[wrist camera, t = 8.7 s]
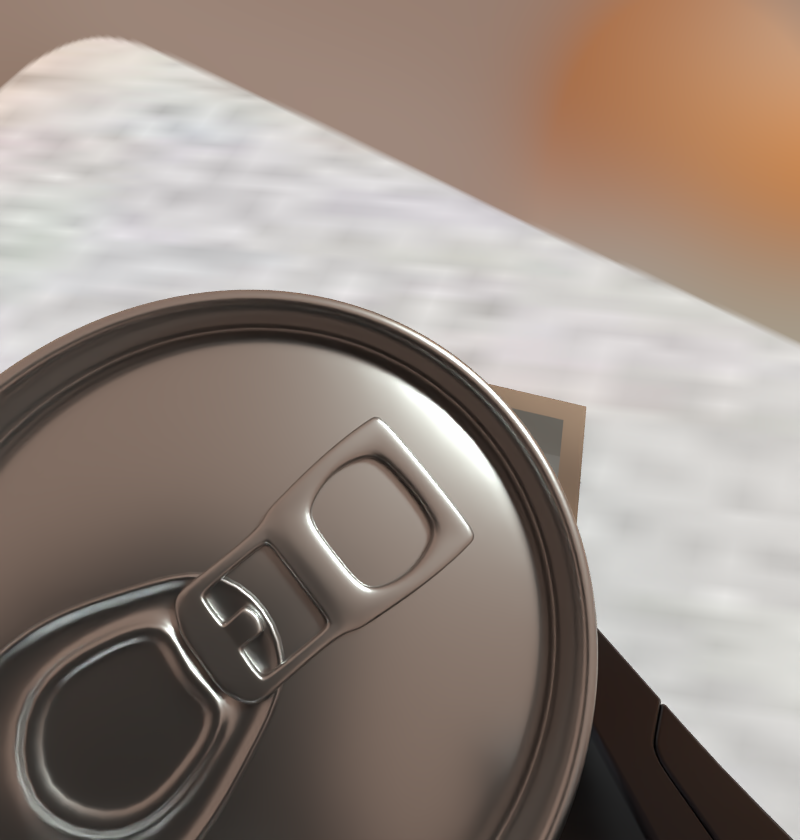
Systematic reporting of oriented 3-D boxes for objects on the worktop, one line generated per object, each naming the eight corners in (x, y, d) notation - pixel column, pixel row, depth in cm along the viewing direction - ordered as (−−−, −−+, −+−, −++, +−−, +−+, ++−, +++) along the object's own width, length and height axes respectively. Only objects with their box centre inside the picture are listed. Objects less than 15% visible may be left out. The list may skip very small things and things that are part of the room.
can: (123, 569, 14) (-522, 557, 3) (306, 438, 16) (338, 144, 5) (258, 757, 14) (98, 1671, 2) (430, 594, 16) (777, 650, 4)
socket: (527, 932, 14) (583, 1040, 11) (-37, 824, 13) (-162, 903, 10) (574, 415, 19) (622, 380, 16) (168, 321, 19) (130, 265, 15)
